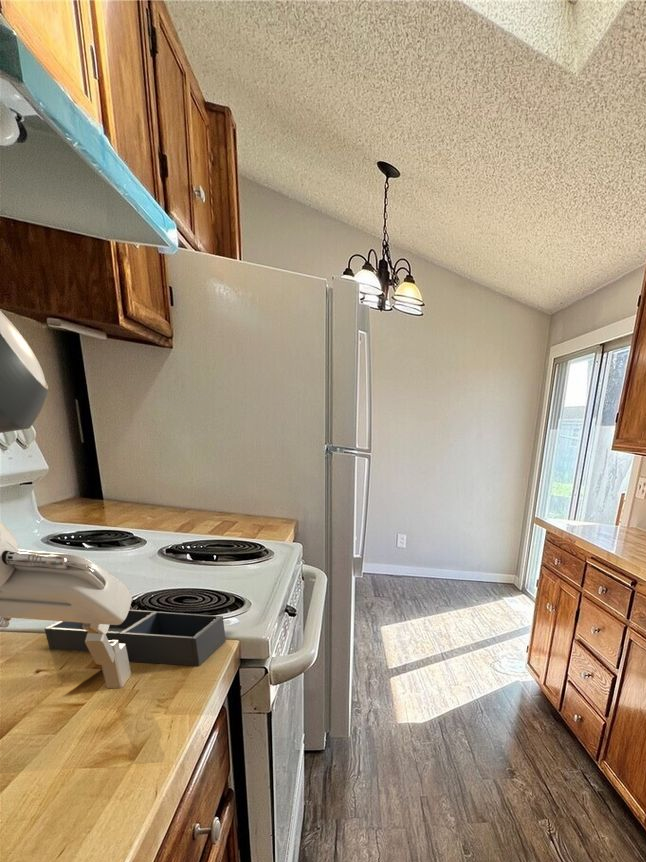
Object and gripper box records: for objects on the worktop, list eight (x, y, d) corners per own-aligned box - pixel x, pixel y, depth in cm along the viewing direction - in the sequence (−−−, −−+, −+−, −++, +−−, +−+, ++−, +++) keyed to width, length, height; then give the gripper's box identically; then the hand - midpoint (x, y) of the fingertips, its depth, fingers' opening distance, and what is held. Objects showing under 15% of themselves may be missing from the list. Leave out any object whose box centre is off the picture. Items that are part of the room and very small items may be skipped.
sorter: (51, 657, 74) (43, 628, 73) (94, 632, 83) (88, 606, 81) (199, 666, 77) (195, 638, 75) (225, 641, 85) (223, 616, 84)
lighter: (116, 674, 72) (103, 615, 69) (131, 673, 72) (120, 615, 69) (97, 699, 66) (83, 636, 63) (114, 698, 66) (101, 636, 63)
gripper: (93, 528, 47) (166, 605, 60) (-182, 504, 44) (-45, 589, 57) (72, 594, 45) (152, 658, 58) (-219, 572, 42) (-68, 645, 55)
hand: (52, 624), depth 57 cm, fingers open, 8 cm apart
